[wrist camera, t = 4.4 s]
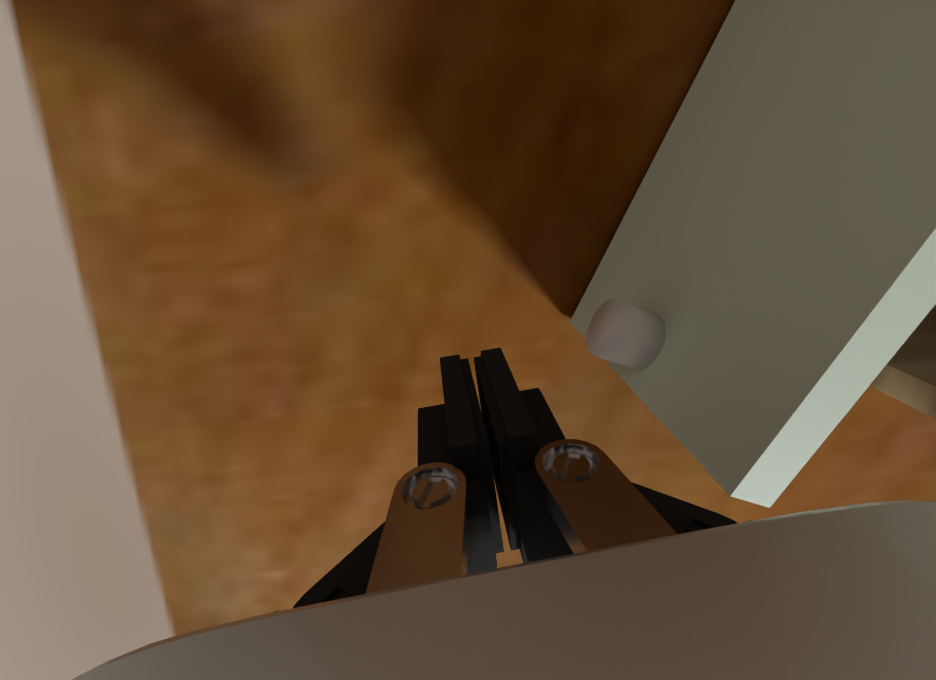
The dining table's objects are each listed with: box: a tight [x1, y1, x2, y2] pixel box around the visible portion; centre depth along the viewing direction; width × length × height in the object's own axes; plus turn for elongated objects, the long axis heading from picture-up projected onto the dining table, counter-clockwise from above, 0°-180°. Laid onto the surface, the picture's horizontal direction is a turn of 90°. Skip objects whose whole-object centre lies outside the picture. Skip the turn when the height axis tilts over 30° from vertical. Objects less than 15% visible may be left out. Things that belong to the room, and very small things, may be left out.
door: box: [570, 0, 936, 508], centre depth 12 cm, size 20×3×11 cm, turn 158°
